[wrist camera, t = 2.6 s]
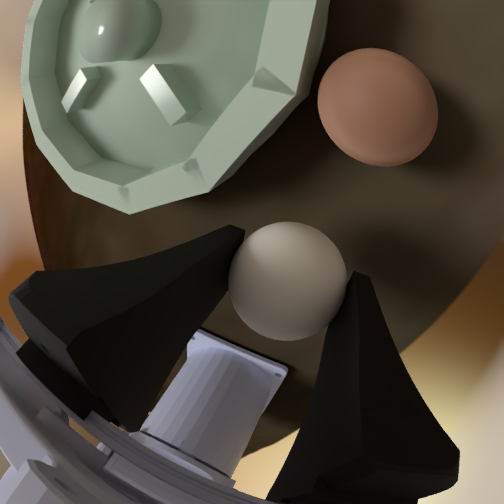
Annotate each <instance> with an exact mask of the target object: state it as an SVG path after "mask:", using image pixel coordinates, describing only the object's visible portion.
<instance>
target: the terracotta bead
mask: <svg viewBox="0 0 504 504" xmlns="http://www.w3.org/2000/svg"><path fill="white" fill-rule="evenodd" d="M318 111H319V115H320V119H321V121H322V124H323V126H324V128H325V130H326V132H327V134H328V135H329V137H330V138H331V139H332V140H333V142H334V143H335V144H336V145H337V146H338V147H339V148H340V149H341V150H342V151H344V152H345V153H346V154H348V155H349V156H351V157H352V158H354V159H356V160H358V161H360V162H363V163H366V164H369V165H374V166H382V167H388V166H396V165H401V164H404V163H407V162H409V161H411V160H413V159H414V158H416V157H417V156H419V155H420V154H421V153H422V152H423V151H424V150H425V149H426V148H427V146H428V145H429V144H430V142H431V140H432V139H433V136H434V134H435V132H436V128H437V123H438V106H437V100H436V97H435V93H434V91H433V89H432V86H431V85H430V83H429V81H428V80H427V78H426V77H425V75H424V74H423V73H422V72H421V71H420V70H419V69H418V68H417V67H416V66H415V65H414V64H413V63H412V62H410V61H409V60H408V59H406V58H404V57H403V56H401V55H399V54H396V53H394V52H391V51H388V50H384V49H378V48H364V49H358V50H354V51H351V52H349V53H346V54H344V55H343V56H341V57H339V58H338V59H337V60H336V61H334V62H333V63H332V64H331V65H330V67H329V68H328V69H327V71H326V72H325V74H324V76H323V78H322V80H321V83H320V86H319V90H318Z"/></svg>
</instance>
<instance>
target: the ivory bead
mask: <svg viewBox="0 0 504 504" xmlns="http://www.w3.org/2000/svg"><path fill="white" fill-rule="evenodd" d="M228 286H229V293H230V298H231V301H232V304H233V306H234V308H235V310H236V312H237V313H238V315H239V316H240V318H241V319H242V320H243V321H244V322H245V323H246V324H247V325H248V326H249V327H250V328H251V329H253V330H254V331H256V332H257V333H259V334H261V335H263V336H265V337H268V338H271V339H276V340H284V341H292V340H298V339H303V338H306V337H309V336H311V335H313V334H315V333H317V332H319V331H320V330H322V329H323V328H324V327H326V326H327V325H328V324H329V323H330V322H331V321H332V320H333V318H334V317H335V316H336V314H337V313H338V311H339V310H340V307H341V305H342V303H343V301H344V297H345V293H346V286H347V274H346V268H345V264H344V261H343V259H342V256H341V254H340V252H339V251H338V249H337V247H336V246H335V245H334V243H333V242H332V241H331V240H330V239H329V238H328V237H327V236H326V235H324V234H323V233H322V232H320V231H319V230H317V229H315V228H313V227H311V226H309V225H305V224H302V223H296V222H279V223H274V224H271V225H268V226H265V227H263V228H261V229H259V230H257V231H256V232H254V233H253V234H251V235H250V236H249V237H248V238H247V239H246V240H245V241H244V242H243V243H242V244H241V245H240V247H239V248H238V250H237V251H236V253H235V255H234V257H233V260H232V262H231V265H230V269H229V276H228Z"/></svg>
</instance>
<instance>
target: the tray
mask: <svg viewBox="0 0 504 504" xmlns="http://www.w3.org/2000/svg"><path fill="white" fill-rule="evenodd" d="M329 3H330V0H35V1H34V3H33V6H32V8H31V11H30V13H29V16H28V18H27V21H26V28H25V35H24V43H23V53H22V66H21V89H22V93H23V98H24V102H25V106H26V110H27V114H28V117H29V121H30V125H31V128H32V131H33V135H34V138H35V141H36V144H37V146H38V147H39V148H40V150H41V151H42V153H43V154H44V155H45V157H46V158H47V159H48V161H49V162H50V163H51V165H52V166H53V167H54V168H55V170H56V171H57V172H58V174H59V175H60V176H61V177H62V179H63V180H64V181H65V182H66V184H67V185H68V186H69V187H70V189H71V190H72V191H73V192H76V193H78V194H81V195H83V196H86V197H88V198H90V199H93V200H95V201H98V202H100V203H103V204H105V205H108V206H110V207H112V208H115V209H117V210H120V211H122V212H125V213H127V214H132V213H136V212H139V211H142V210H145V209H149V208H152V207H156V206H159V205H163V204H166V203H170V202H173V201H177V200H180V199H184V198H188V197H192V196H195V195H199V194H203V193H208V192H210V191H211V190H213V189H214V188H215V187H217V186H218V185H220V184H221V183H222V182H224V181H225V180H227V179H228V178H230V177H231V176H232V175H234V173H235V172H236V171H237V170H238V169H239V167H240V166H241V165H242V164H243V163H244V162H245V161H246V160H247V159H248V157H249V156H250V155H251V154H252V153H253V152H254V151H256V150H257V149H258V148H259V147H260V146H261V145H262V144H263V143H264V142H265V141H266V140H267V139H269V138H270V137H271V136H272V135H273V134H274V133H275V132H276V130H277V129H278V128H279V127H280V126H281V125H282V123H283V122H284V121H285V120H286V119H287V117H288V116H289V115H290V114H291V113H292V111H293V110H294V109H295V108H296V107H297V106H298V105H299V104H300V103H301V102H302V101H303V100H304V99H305V98H306V97H307V96H309V92H310V88H311V84H312V79H313V75H314V72H315V70H316V68H317V65H318V62H319V59H320V55H321V52H322V49H323V46H324V42H325V37H326V30H327V22H328V8H329Z"/></svg>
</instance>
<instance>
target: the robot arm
mask: <svg viewBox="0 0 504 504" xmlns="http://www.w3.org/2000/svg"><path fill="white" fill-rule="evenodd" d="M244 234H245V230H244V229H241V228H238V227H235V226H233V225H227V226H225V227H222V228H220V229H217V230H215V231H213V232H210V233H208V234H206V235H203V236H201V237H198V238H196V239H194V240H191V241H189V242H186V243H184V244H181V245H178V246H175V247H173V248H170V249H167V250H164V251H162V252H159V253H155V254H152V255H149V256H145V257H142V258H138V259H134V260H130V261H125V262H120V263H115V264H110V265H105V266H99V267H92V268H84V269H74V270H54V271H36V272H35V273H34V274H32V275H31V276H30V277H29V278H27V279H26V280H25V281H24V282H23V283H21V284H20V285H19V286H18V287H17V288H16V289H14V290H13V291H12V292H11V293H10V294H9V302H10V305H11V307H12V309H13V311H14V313H15V315H16V317H17V319H18V321H19V322H20V324H21V326H22V327H23V329H24V331H25V332H26V334H27V336H28V337H29V339H28V340H27V341H26V342H25V343H24V345H22V344H21V343H20V342H19V341H18V340H17V339H16V337H15V336H14V335H13V334H12V333H11V332H10V330H9V329H8V328H7V327H6V326H5V324H4V322H3V320H2V318H1V316H0V449H1V451H2V452H3V454H4V455H5V457H6V458H7V460H8V461H9V463H10V464H11V466H10V467H9V469H8V470H7V472H6V473H5V474H4V475H3V477H2V478H1V480H0V504H417V503H418V499H420V498H424V497H427V496H430V495H433V494H437V493H440V492H442V491H444V490H447V489H449V488H451V487H452V486H453V485H454V484H455V483H456V482H457V481H458V473H459V459H460V450H459V449H458V448H457V446H456V445H455V444H454V443H453V441H452V440H451V439H450V437H449V436H448V435H447V434H446V432H445V431H444V430H443V428H442V427H441V426H440V424H439V423H438V421H437V420H436V418H435V417H434V415H433V414H432V412H431V411H430V409H429V408H428V407H427V405H426V403H425V402H424V400H423V399H422V397H421V395H420V393H419V392H418V390H417V388H416V386H415V384H414V383H413V381H412V379H411V377H410V375H409V373H408V371H407V369H406V368H405V365H404V363H403V362H402V359H401V357H400V355H399V353H398V351H397V349H396V346H395V344H394V341H393V339H392V337H391V334H390V332H389V329H388V327H387V324H386V322H385V319H384V316H383V314H382V311H381V308H380V305H379V302H378V299H377V296H376V293H375V291H374V288H373V285H372V282H371V279H370V277H368V276H366V275H363V274H361V273H358V272H355V271H354V272H353V274H352V276H351V278H350V280H349V282H348V284H347V286H346V293H345V297H344V301H343V303H342V305H341V307H340V310H339V311H338V313H337V314H336V316H335V317H334V318H333V320H332V321H331V322H330V323H329V326H328V329H327V332H326V336H325V341H324V346H323V351H322V356H321V361H320V366H319V371H318V375H317V380H316V384H315V388H314V392H313V395H312V398H311V401H310V404H309V407H308V409H307V412H306V415H305V417H304V420H303V422H302V425H301V427H300V430H299V433H298V434H297V437H296V439H295V442H294V444H293V446H292V448H291V450H290V452H289V455H288V457H287V459H286V461H285V463H284V465H283V467H282V469H281V471H280V473H279V475H278V477H277V478H276V480H275V483H274V484H273V486H272V488H271V489H270V491H269V493H268V495H267V497H266V499H265V500H263V499H260V498H257V497H254V496H251V495H248V494H245V493H243V492H240V491H238V490H236V489H234V488H233V486H234V484H235V482H236V481H235V480H233V479H231V477H232V474H233V473H234V471H235V469H236V467H237V465H238V463H239V460H240V458H241V456H242V454H243V452H244V450H245V448H246V446H247V444H248V442H249V440H250V437H251V435H252V433H253V431H254V429H255V426H256V424H257V422H258V420H259V418H260V415H261V414H262V413H263V412H264V410H265V409H266V407H267V406H268V404H269V403H270V401H271V399H272V398H273V396H274V395H275V393H276V391H277V390H278V388H279V386H280V385H281V383H282V381H283V380H284V378H285V376H286V375H287V372H288V368H287V367H286V366H284V365H282V364H279V363H277V362H274V361H272V360H269V359H267V358H264V357H262V356H259V355H257V354H255V353H252V352H250V351H247V350H245V349H243V348H240V347H238V346H236V345H234V344H231V343H229V342H227V341H225V340H222V339H220V338H218V337H216V336H214V335H211V334H209V333H207V332H205V331H203V330H201V329H199V328H200V326H201V325H202V324H203V323H204V321H205V320H206V319H207V317H208V316H209V315H210V314H211V312H212V311H213V310H214V308H215V307H216V306H217V304H218V303H219V302H220V300H221V299H222V298H223V296H224V295H225V294H226V292H227V290H228V289H229V286H228V276H229V269H230V265H231V262H232V260H233V257H234V255H235V253H236V251H237V250H238V248H239V247H240V245H241V244H242V243H243V240H244ZM186 345H187V361H186V362H185V364H184V365H183V367H182V368H181V370H180V371H179V373H178V374H177V376H176V377H175V379H174V380H173V382H172V383H171V384H170V386H169V387H168V389H167V390H166V392H165V393H164V395H163V396H162V398H161V399H160V401H159V402H158V404H157V405H156V406H155V408H154V409H153V411H152V412H151V414H150V415H149V417H148V418H147V420H146V421H145V422H144V420H145V418H146V416H147V414H148V412H149V411H150V409H151V407H152V405H153V403H154V401H155V399H156V397H157V395H158V393H159V392H160V390H161V388H162V386H163V384H164V383H165V381H166V379H167V377H168V376H169V374H170V372H171V370H172V369H173V367H174V365H175V363H176V362H177V360H178V359H179V357H180V355H181V354H182V352H183V350H184V349H185V347H186ZM67 415H68V416H69V417H70V418H71V419H73V420H74V421H75V422H76V423H77V424H79V425H80V426H81V427H82V428H84V429H85V430H86V431H87V432H88V433H90V434H91V435H92V436H94V437H95V438H96V439H98V440H99V441H100V444H99V445H98V446H97V447H94V446H93V445H92V444H91V443H90V442H88V441H87V440H86V439H84V438H83V437H82V436H81V435H79V434H78V433H77V432H76V431H75V430H74V429H72V428H71V427H70V426H69V422H68V421H69V418H68V416H67ZM110 422H112V423H113V424H115V425H116V426H118V427H121V428H123V429H124V430H126V431H127V432H126V431H120V430H119V429H118V428H116V427H115V426H113V425H112V424H110ZM143 422H144V424H143ZM142 424H143V425H142ZM128 432H129V433H130V434H129V433H128Z"/></svg>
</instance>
